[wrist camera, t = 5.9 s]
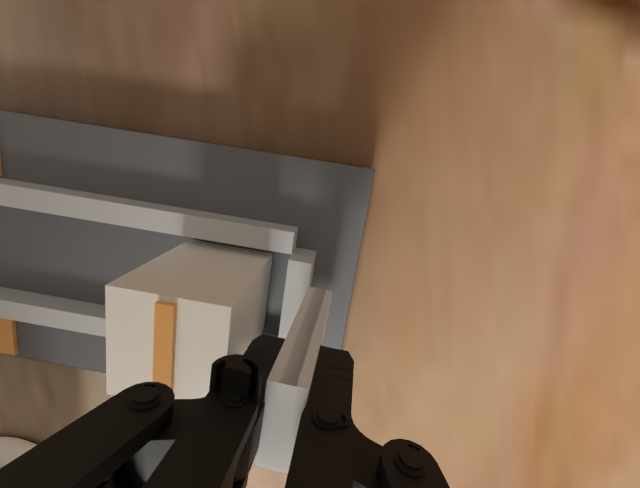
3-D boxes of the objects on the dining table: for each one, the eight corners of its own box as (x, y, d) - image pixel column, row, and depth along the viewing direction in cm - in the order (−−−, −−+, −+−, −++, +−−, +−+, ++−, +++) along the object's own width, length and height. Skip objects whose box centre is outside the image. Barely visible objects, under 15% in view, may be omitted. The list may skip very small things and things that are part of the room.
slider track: (330, 390, 20) (326, 444, 17) (-113, 308, 22) (-214, 342, 18) (371, 168, 17) (378, 172, 13) (-156, 85, 18) (-292, 66, 14)
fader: (263, 328, 17) (219, 420, 11) (186, 314, 17) (102, 398, 12) (272, 253, 16) (229, 310, 10) (190, 239, 16) (100, 287, 10)
